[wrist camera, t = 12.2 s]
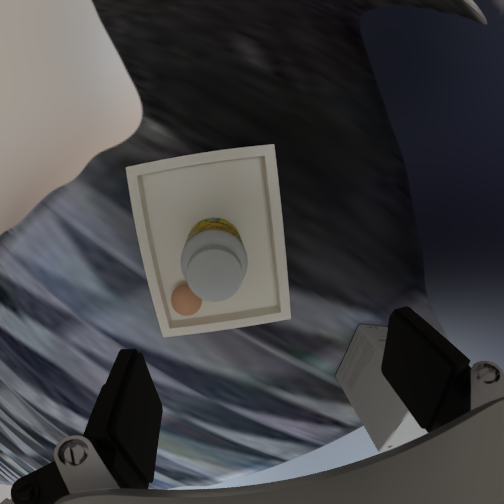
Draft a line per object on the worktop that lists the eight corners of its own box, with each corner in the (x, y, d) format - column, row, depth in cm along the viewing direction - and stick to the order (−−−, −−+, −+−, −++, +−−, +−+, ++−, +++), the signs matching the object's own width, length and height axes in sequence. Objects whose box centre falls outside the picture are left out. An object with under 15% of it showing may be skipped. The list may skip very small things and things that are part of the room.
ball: (170, 282, 30) (165, 294, 27) (199, 277, 30) (197, 290, 27) (176, 308, 31) (173, 323, 28) (205, 305, 31) (204, 319, 28)
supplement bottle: (177, 248, 29) (161, 284, 20) (207, 205, 28) (203, 222, 19) (220, 277, 30) (223, 323, 21) (251, 236, 30) (267, 267, 20)
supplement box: (381, 377, 39) (429, 442, 25) (333, 376, 37) (376, 454, 23) (407, 327, 37) (469, 387, 23) (358, 321, 35) (421, 394, 21)
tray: (132, 167, 27) (125, 167, 25) (269, 146, 28) (274, 144, 26) (166, 325, 32) (163, 337, 30) (285, 308, 33) (290, 318, 31)
